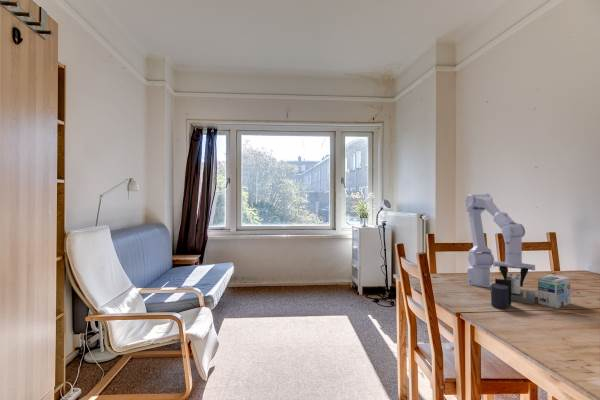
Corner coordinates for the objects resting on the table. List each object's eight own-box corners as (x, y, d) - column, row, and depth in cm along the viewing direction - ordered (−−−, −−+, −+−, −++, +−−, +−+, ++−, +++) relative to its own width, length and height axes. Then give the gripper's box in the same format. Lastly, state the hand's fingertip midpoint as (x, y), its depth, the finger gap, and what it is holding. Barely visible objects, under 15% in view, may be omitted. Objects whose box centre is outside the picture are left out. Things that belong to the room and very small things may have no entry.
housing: (508, 287, 138) (507, 273, 138) (521, 289, 135) (520, 274, 135) (506, 292, 132) (506, 277, 132) (520, 294, 129) (519, 278, 129)
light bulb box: (557, 309, 120) (557, 280, 120) (537, 304, 126) (537, 277, 126) (571, 304, 125) (571, 277, 125) (551, 300, 131) (551, 273, 131)
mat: (501, 292, 142) (501, 291, 142) (503, 287, 150) (503, 286, 150) (547, 298, 133) (547, 297, 133) (547, 293, 140) (546, 292, 140)
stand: (492, 299, 133) (492, 290, 133) (496, 292, 143) (496, 284, 143) (534, 305, 125) (534, 296, 125) (535, 297, 134) (535, 289, 134)
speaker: (494, 301, 129) (495, 276, 128) (511, 305, 125) (511, 279, 124) (488, 307, 124) (488, 282, 123) (505, 312, 120) (506, 285, 119)
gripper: (492, 252, 135) (492, 284, 135) (534, 255, 126) (535, 290, 126) (494, 250, 141) (494, 281, 141) (535, 253, 132) (535, 286, 132)
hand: (513, 285), depth 134 cm, fingers closed on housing, 5 cm apart
